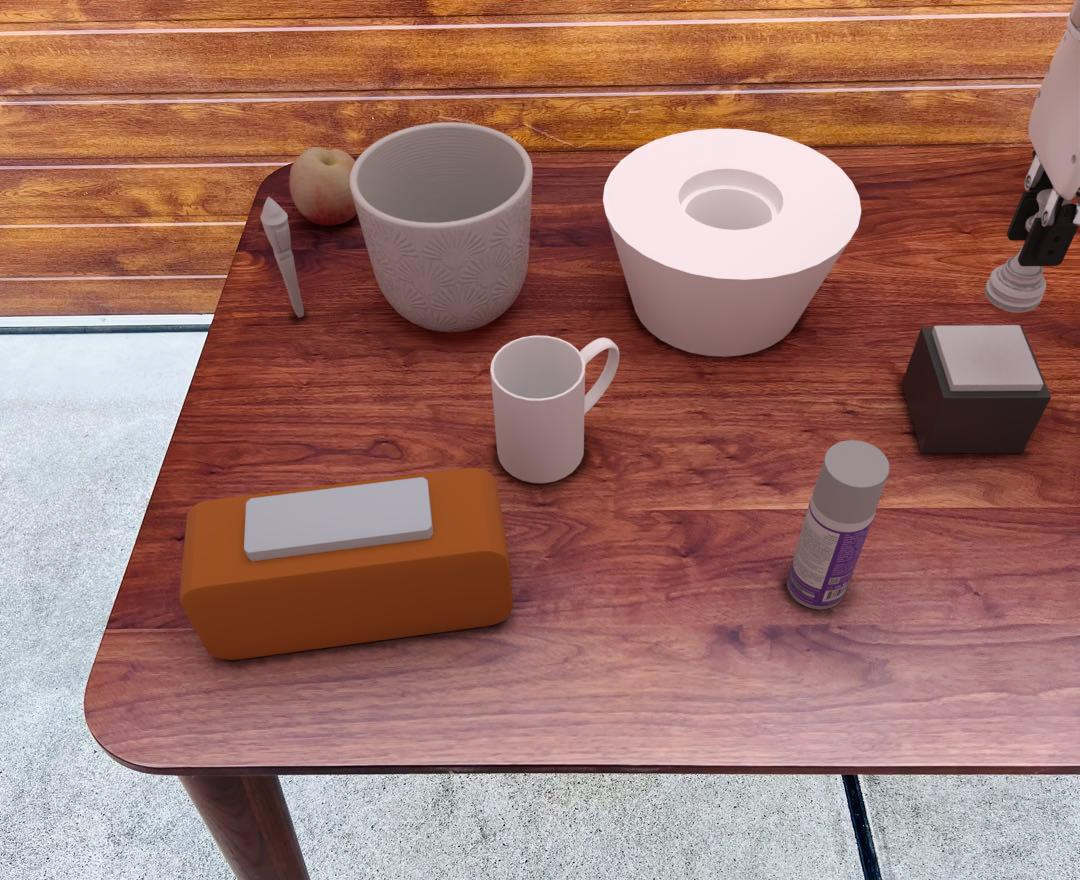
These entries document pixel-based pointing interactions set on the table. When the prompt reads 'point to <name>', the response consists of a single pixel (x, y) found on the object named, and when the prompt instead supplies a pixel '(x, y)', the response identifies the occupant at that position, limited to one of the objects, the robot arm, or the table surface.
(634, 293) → the white tapered cylinder
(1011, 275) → the chess piece
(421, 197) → the planter
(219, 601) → the alarm clock
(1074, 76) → the robot arm
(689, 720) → the table surface
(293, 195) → the fruit
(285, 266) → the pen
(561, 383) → the mug
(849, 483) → the container
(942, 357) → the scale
